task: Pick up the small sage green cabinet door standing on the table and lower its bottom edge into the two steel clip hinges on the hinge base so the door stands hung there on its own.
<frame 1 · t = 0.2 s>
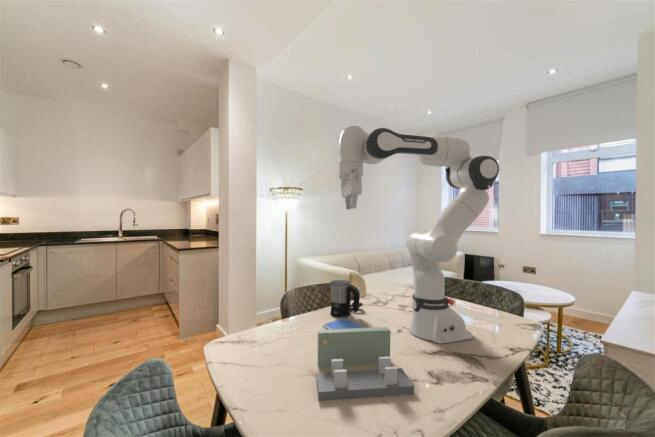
hand: (350, 208, 100), 47 cm above the table, tool pointing down, fingers open, 8 cm apart
tablet computer: (349, 332, 105), on the table
milk frother: (346, 312, 125), on the table
hinge base: (363, 386, 70), on the table
cabinet door: (353, 362, 82), on the table
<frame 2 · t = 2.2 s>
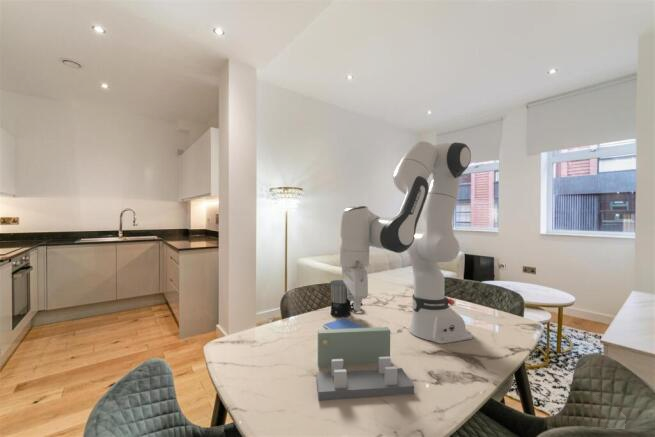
hand: (353, 304, 82), 18 cm above the table, tool pointing down, fingers open, 8 cm apart
nothing on the table moved.
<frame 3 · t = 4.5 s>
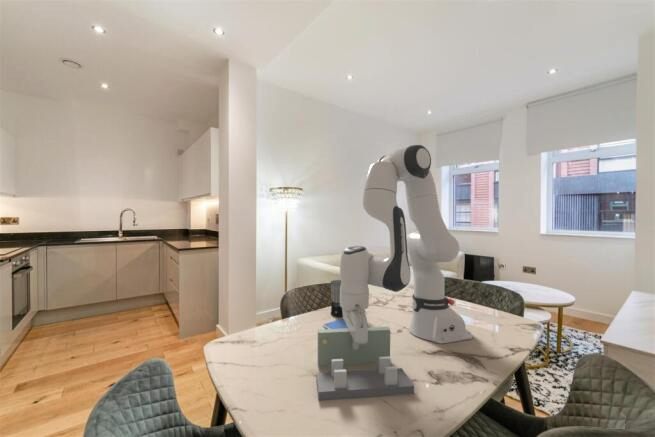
hand: (353, 345, 82), 5 cm above the table, tool pointing down, fingers closed on cabinet door, 2 cm apart
cabinet door: (353, 362, 82), on the table, touching gripper
everything else where it was.
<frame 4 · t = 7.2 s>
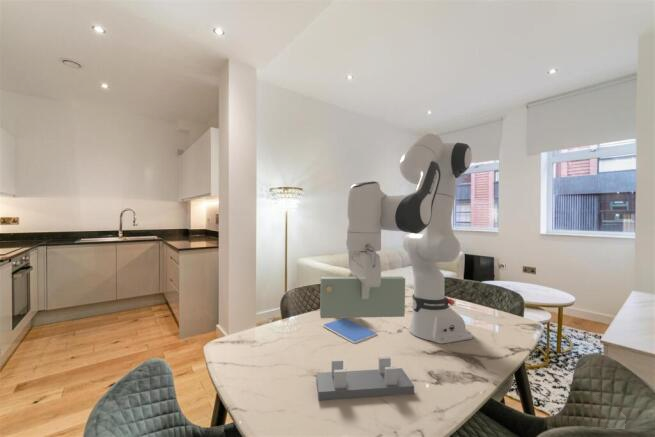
hand: (362, 296, 70), 24 cm above the table, tool pointing down, fingers closed on cabinet door, 2 cm apart
cabinet door: (362, 315, 70), point 18 cm above the table, touching gripper
everything else where it was.
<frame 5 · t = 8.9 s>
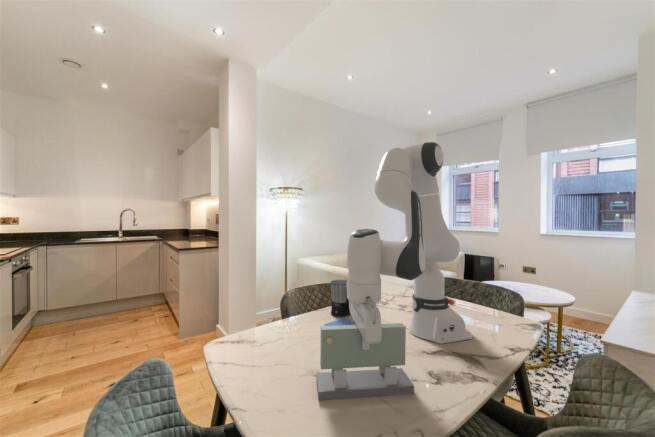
hand: (363, 344, 70), 11 cm above the table, tool pointing down, fingers closed on cabinet door, 2 cm apart
cabinet door: (362, 364, 70), point 6 cm above the table, touching gripper
everything else where it was.
when the fingers open (8 cm above the table, at t = 10.0 s): cabinet door stays where it is, resting on hinge base.
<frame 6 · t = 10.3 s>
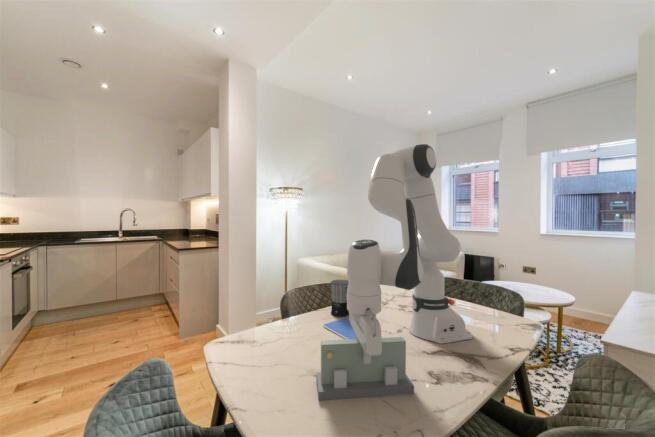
hand: (363, 355, 70), 8 cm above the table, tool pointing down, fingers open, 5 cm apart
cabinet door: (363, 379, 70), point 2 cm above the table, touching hinge base
everything else where it was.
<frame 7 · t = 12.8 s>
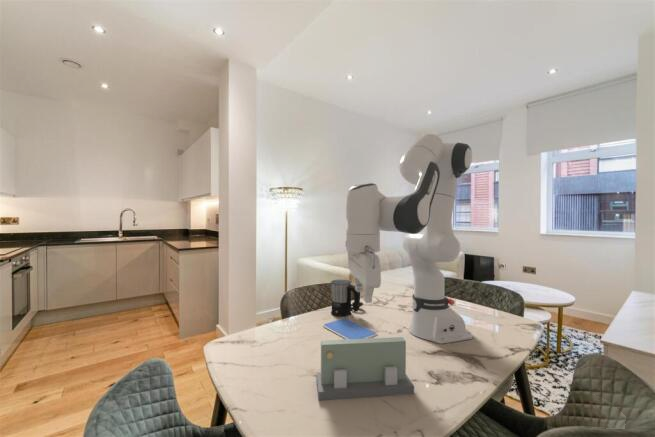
hand: (363, 296, 72), 23 cm above the table, tool pointing down, fingers open, 8 cm apart
nothing on the table moved.
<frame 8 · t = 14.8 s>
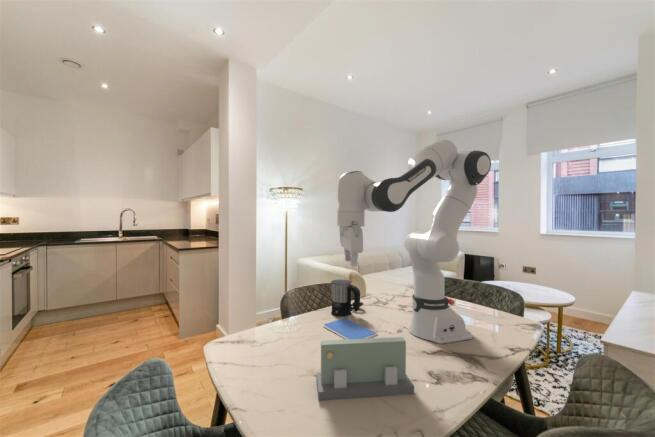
hand: (350, 263, 88), 29 cm above the table, tool pointing down, fingers open, 8 cm apart
nothing on the table moved.
at the end: cabinet door 0.1 cm off-centre on the hinge base, point 2.0 cm above the hinge base's base; cabinet door tilted 0°; the gripper is holding nothing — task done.
